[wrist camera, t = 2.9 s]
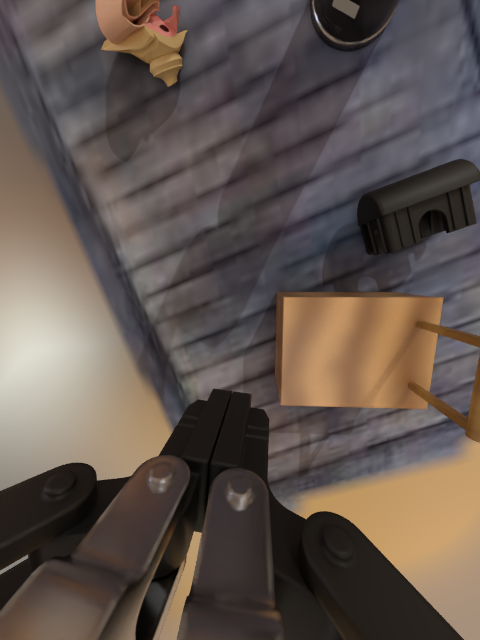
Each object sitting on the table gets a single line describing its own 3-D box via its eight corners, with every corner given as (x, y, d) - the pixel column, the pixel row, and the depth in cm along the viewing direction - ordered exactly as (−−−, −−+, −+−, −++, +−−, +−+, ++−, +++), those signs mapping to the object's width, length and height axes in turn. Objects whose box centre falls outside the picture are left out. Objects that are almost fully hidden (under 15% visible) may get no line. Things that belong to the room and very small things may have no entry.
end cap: (429, 174, 31) (478, 146, 24) (441, 230, 32) (490, 219, 25) (349, 204, 32) (375, 185, 25) (363, 257, 33) (392, 253, 26)
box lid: (437, 296, 26) (543, 309, 17) (422, 405, 29) (506, 471, 19) (283, 296, 27) (299, 308, 18) (280, 402, 29) (293, 463, 20)
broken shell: (213, 70, 30) (165, 83, 25) (157, 95, 35) (107, 110, 30) (181, -58, 24) (109, -78, 19) (119, -6, 29) (48, -10, 24)
